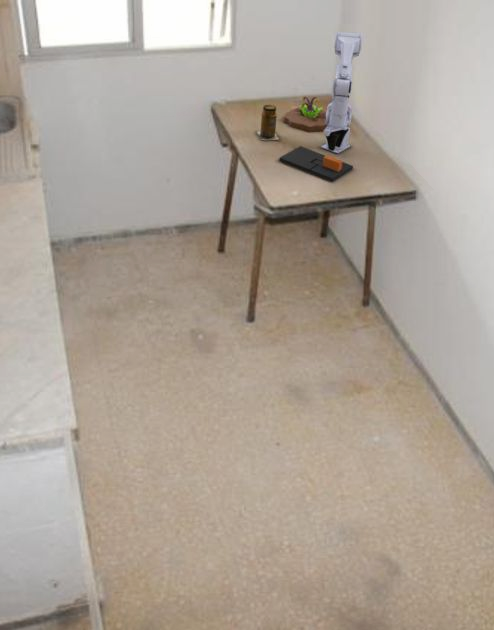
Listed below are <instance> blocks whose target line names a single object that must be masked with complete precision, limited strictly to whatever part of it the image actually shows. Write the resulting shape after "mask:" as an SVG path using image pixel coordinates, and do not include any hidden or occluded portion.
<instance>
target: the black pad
mask: <svg viewBox="0 0 494 630" xmlns="http://www.w3.org/2000/svg"><path fill="white" fill-rule="evenodd" d="M325 156H326V155H325V154H323V153H320V152H317V151H315V150H312V149H310V148H307V147H304V146H302V145H300V146H298V147H296V148H294V149H292V150H291V151H289V152H286V153H285V154H283V155H282V156H280V157H279V160H278V161H279V163H280V162H281V163H284V164H285V165H287V166H291V167H293V168H295V169H297V170H301V171H303V172H305V173H308V174H311V173H310V170H311V169H313V168H314V167H316V166H317V165H316V164H313V163H312V162H314V161H315V160H319V161H321V162H323V158H324V157H325Z"/></svg>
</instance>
